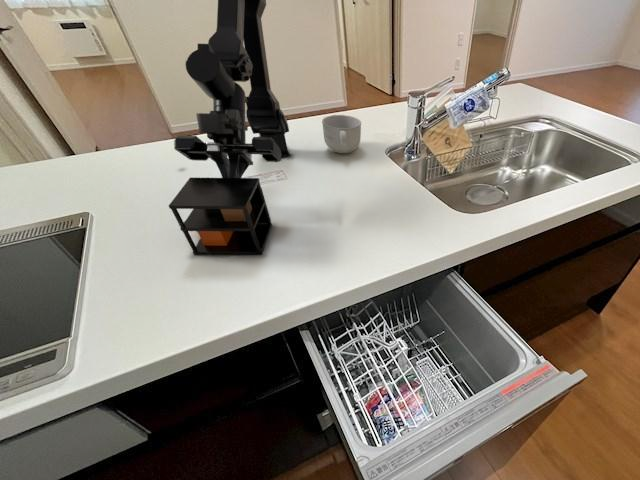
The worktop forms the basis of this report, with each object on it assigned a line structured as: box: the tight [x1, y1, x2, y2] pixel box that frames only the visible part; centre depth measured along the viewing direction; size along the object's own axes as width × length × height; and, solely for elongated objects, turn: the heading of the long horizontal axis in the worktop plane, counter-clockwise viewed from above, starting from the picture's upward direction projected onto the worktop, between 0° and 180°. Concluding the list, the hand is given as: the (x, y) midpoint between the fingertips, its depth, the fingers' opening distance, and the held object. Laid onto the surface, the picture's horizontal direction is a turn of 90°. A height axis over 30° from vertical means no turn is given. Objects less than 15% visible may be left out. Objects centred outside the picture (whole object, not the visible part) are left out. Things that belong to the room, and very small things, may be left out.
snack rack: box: [168, 177, 273, 256], centre depth 67 cm, size 10×13×11 cm
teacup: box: [321, 114, 362, 154], centre depth 98 cm, size 14×11×8 cm
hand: (230, 192), depth 69 cm, fingers closed, pressing on snack rack
